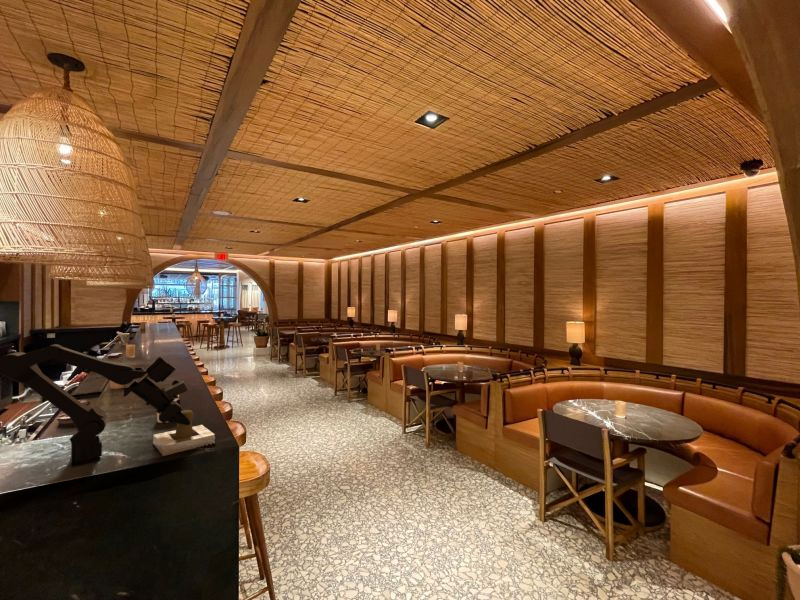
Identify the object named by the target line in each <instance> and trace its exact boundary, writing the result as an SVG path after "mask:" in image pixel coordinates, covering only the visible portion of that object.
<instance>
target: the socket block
mask: <svg viewBox="0 0 800 600" xmlns="http://www.w3.org/2000/svg"><path fill="white" fill-rule="evenodd" d="M192 428H193V436H192V437H187V438H183V439H178V440H175V434H176V429H175V430H171V431H170V430H169V431H165V432H161V433H156V434H152V435H153V436H152V437H153V439H152V441H153V442H152V444H153V445H154V447H155V448H156V449H157V450H158V452H159V453H160V454H161V456H162V457H163V456H164V457H165V456H168V455H172V454H177V453H181V452H184V451H185V452H186V451H189V450H193V449H197V447H198V448H202V447H205V446H204V445H206V446H209V445H208V444H210V445H213V444H212V443H214V444H215V443H216V442H215V441H216V434H215V433H214V432H212V431H211V430H210V429H208V428H207V427H205V426H204V425H203V424H199V425H196V426H195V425H194V426H192ZM201 446H202V447H201Z"/></svg>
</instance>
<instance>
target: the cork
mask: <svg viewBox="0 0 800 600" xmlns="http://www.w3.org/2000/svg"><path fill="white" fill-rule="evenodd" d="M181 412H182V413H183V414H184V415H185V416H186V417H187V418H188V419H189V421H190V422H191V423H190V424H189V425H184V424H179V423H176V429H175V430H176V434H175V440H178V439H183V438H187V437H192V436H193V428H192V427H193V423H192V422H193V421H192V420H193V418H194V412H193V410H191V409H183V411H181Z"/></svg>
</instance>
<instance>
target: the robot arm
mask: <svg viewBox="0 0 800 600" xmlns="http://www.w3.org/2000/svg"><path fill="white" fill-rule="evenodd" d="M51 360H52V361H53V360H54V361H57V362H60V363H63V364H65V365H69V366H72V367H76V368H79V369H83V370H86V371H89V372H92V373H95V374H98V375H100V376H101V377H103V378H105V379H107V380H108V381H110V382H113V383H114V384H117V385H120V386H123V388H122V390H123V397H127V396H128V395H129V394H130V393H132V394H133V395H134V396H136V397H138V398H139V400H141V401H142V402H144V404H145V405H146V406H150V407H151V408H153V409H154V410H155V411H156V414H157V413H159V420H160V421H161V422H163V423H162V424H166V423H173V424H177V423H179V424H184V425H189V424H190V423H191V422H190V421H189V419H188V418H187V417H186V416H185V415H184V414H183V413H182V412H181V411H183V410H184V408H182V405H181V400H180V398H179V399H178V400H177V401H173V400H174V399H175V398H178V395H179V396H180V395H181V394H183V393H186V392H188V391H189V388H188V386H187V384H186V383H185V381H184V380H178V379H174V380H172V381H171V385H169V387H167V388H165V387H163V386H159V385H158V383H160V382H161V383H163V382H165V381H166V380H167V379H168V378H169V377H171V375H172V374H174V373H175V371H177V370H178V369H177V367H176V366H175V365H174V364H173V363H171V362H170V361H167V360H166V359H165V358H163V357H162V356H160V355H159V356H158V357H157V358H156V359H155V360H154V361H153V362H151V364H150V365H148V367H137V366H134V365H132V364H130V363H125V362H119V361H112V360H111V361H110V360H105V359H101V358H98V357H95V356H93V355H89V354H87V353H82V352H80V351H76V350H73V349H71V348H67V347H64V346H63V345H60V344H58V343H57V344H56V343H55V344H51V345H48V346H45V347H43V348H40V349H36V350H33V351H29V352H21V351H19V352H18V351H17V352H13V353H9V354H6V355H3V356H1V357H0V375H1V376H3V377H5V378H7V379H9V380H11V381H14V382H18V383H20V384H23V385H25V386H27V387H29V388H30V389H31V390H33V391H34V392H35V393H37V394H38V395H39V396H40V397H42V398H43V399H44V400H46V401H48V402H49V403H50V404H52V405H53V407H56V409H58V410H60V411H61V412H62V413H64V414H65V415H67V417H68V418H70V420H71V422H72V424H73V425H74V427H75V428H76V430H75V431H74V433H73V434H72V436H71V437H70V438H69V441H70V459H69V462H70V463H69V464H70V467H74V466H75V467H76V466H80V465H85V464H88V463H93V462H94V463H95V462H97V461H100V460H101V457H102V453H103V442H102V440H101V439H100V436H99V435H100V434H101V433H102V432H103V431H104V430H105V428H106V426H107V424H108V423H109V422H108V421H109V418H108V415H107V414H106V413H107V410H103V409H102V408H100V407H99V405H97V404H96V403H94V404H93V405H92V406H89V405H85V404H83V403H82V402H80V401H79V399H77V398H75V397H74V396H73V395H72V394H70V392H67V391H66V390H65V389H63V388H62V387H61V386H60V385H59V384H57V383H56V382H54V381H53V380H52V379H50V378H49V377H48V376H47V375H45V374H44V373H43V372H42V370H41V369H40V367H39V365H38V364H40V363H43V362H47V361H51ZM139 379H140V380H139ZM154 382H155V383H154ZM156 383H157V384H156ZM128 384H129V385H128ZM125 385H128V386H125Z"/></svg>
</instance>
